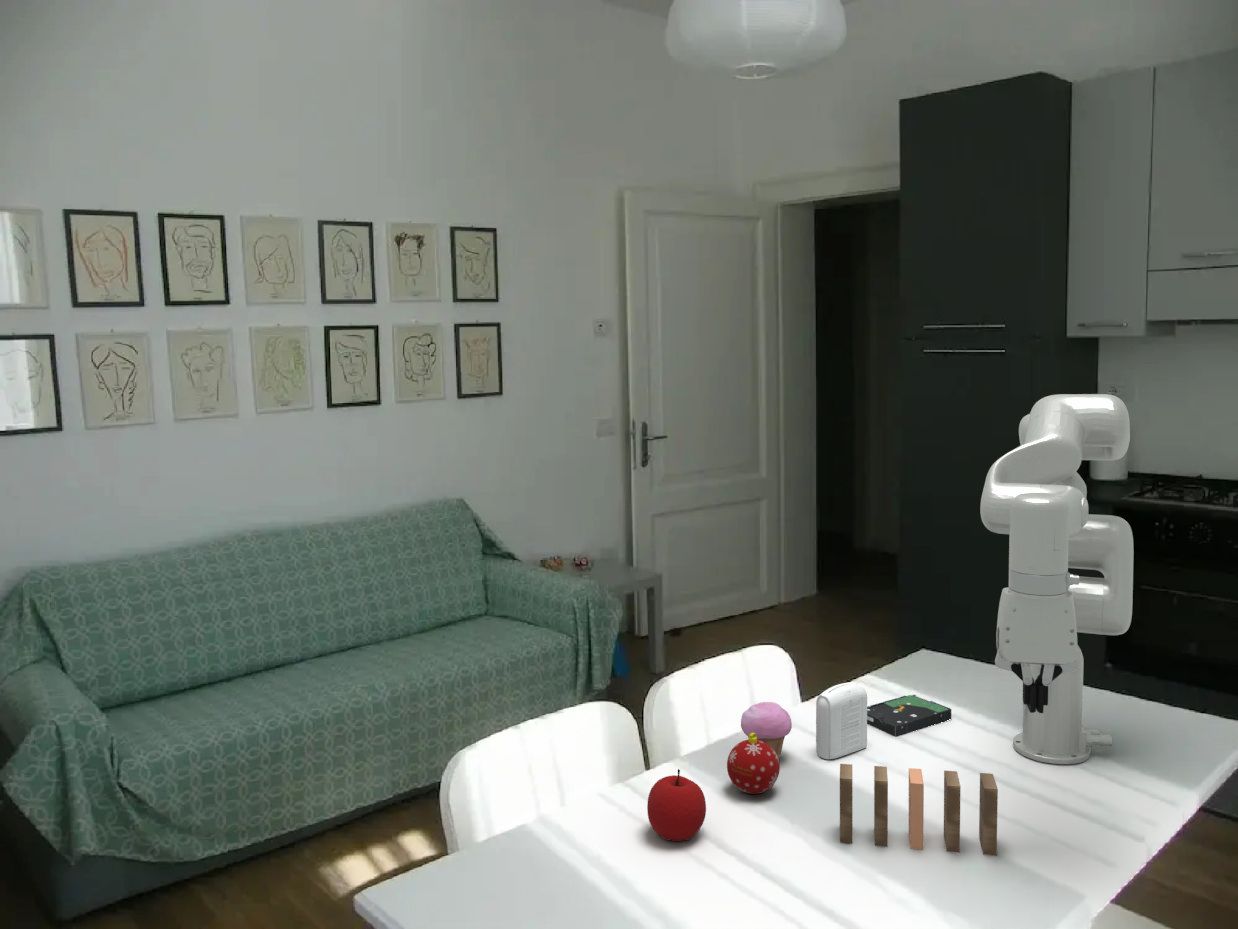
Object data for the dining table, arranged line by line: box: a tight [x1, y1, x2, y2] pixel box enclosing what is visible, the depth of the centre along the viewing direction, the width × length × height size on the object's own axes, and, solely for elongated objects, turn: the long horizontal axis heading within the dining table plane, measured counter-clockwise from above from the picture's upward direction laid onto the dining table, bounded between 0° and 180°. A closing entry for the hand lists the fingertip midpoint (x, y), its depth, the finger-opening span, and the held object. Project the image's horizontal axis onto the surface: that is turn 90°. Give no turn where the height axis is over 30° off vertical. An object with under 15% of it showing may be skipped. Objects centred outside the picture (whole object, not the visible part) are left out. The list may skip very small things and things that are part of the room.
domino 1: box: [839, 763, 853, 845], centre depth 148 cm, size 2×5×10 cm, turn 167°
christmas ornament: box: [726, 733, 780, 795], centre depth 163 cm, size 9×9×10 cm
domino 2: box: [873, 765, 889, 847], centre depth 146 cm, size 2×5×10 cm, turn 167°
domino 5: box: [978, 772, 999, 856], centre depth 143 cm, size 2×5×10 cm, turn 167°
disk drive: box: [867, 694, 952, 738], centre depth 191 cm, size 10×3×15 cm
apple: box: [646, 768, 707, 842], centre depth 150 cm, size 9×9×10 cm
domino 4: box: [943, 770, 961, 853], centre depth 144 cm, size 2×5×10 cm, turn 167°
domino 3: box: [908, 767, 925, 850], centre depth 145 cm, size 2×5×10 cm, turn 167°
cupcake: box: [740, 701, 793, 760], centre depth 175 cm, size 9×9×10 cm
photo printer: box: [815, 682, 868, 761], centre depth 177 cm, size 10×4×12 cm, turn 123°
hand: (1034, 709), depth 139 cm, fingers closed
